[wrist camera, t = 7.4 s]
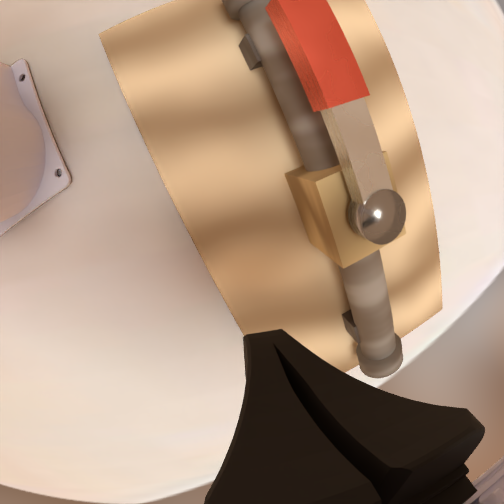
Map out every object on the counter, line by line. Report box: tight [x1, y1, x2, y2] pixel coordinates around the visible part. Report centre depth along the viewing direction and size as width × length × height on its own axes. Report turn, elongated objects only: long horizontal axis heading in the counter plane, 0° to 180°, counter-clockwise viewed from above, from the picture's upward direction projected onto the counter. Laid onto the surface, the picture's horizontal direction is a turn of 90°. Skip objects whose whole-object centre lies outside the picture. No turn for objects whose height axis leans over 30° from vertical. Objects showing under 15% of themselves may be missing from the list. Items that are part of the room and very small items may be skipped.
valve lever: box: [265, 0, 406, 245], centre depth 11 cm, size 11×2×1 cm, turn 23°
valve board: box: [99, 0, 442, 378], centre depth 16 cm, size 28×16×6 cm, turn 23°
